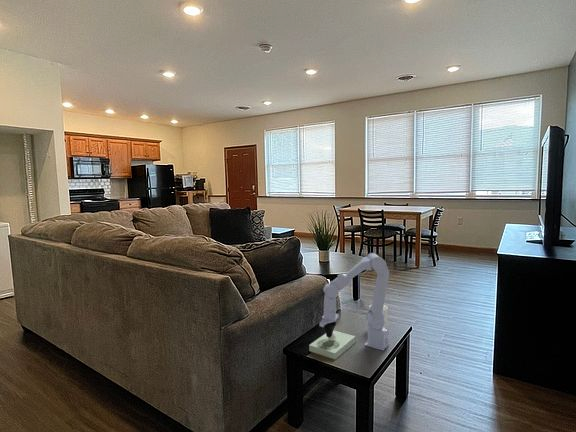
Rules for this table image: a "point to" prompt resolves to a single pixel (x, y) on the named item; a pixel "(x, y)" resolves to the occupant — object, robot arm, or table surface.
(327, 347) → the putting board
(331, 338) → the ball
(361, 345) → the table surface
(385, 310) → the candle holder
